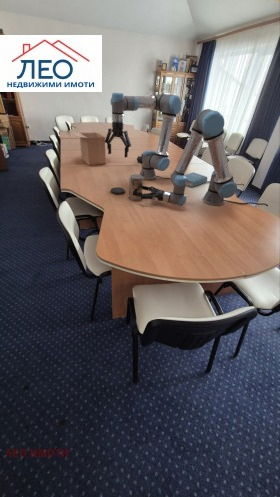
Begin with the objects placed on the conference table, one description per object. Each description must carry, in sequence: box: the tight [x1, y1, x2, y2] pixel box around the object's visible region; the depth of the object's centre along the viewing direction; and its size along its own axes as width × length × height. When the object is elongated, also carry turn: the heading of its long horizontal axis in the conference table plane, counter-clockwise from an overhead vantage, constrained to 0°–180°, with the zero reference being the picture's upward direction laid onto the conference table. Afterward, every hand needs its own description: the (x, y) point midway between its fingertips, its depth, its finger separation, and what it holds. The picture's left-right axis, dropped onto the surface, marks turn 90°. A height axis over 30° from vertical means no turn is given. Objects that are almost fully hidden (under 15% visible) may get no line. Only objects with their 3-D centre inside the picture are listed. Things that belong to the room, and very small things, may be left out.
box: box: [70, 129, 112, 166], centre depth 229 cm, size 44×36×27 cm
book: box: [184, 171, 208, 188], centre depth 200 cm, size 23×16×5 cm
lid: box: [110, 186, 126, 196], centre depth 173 cm, size 11×11×2 cm
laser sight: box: [136, 153, 143, 164], centre depth 240 cm, size 10×22×10 cm, turn 78°
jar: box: [128, 173, 144, 202], centre depth 162 cm, size 10×10×16 cm
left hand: (117, 155), depth 158 cm, fingers open, 13 cm apart
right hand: (136, 190), depth 162 cm, fingers open, 13 cm apart
